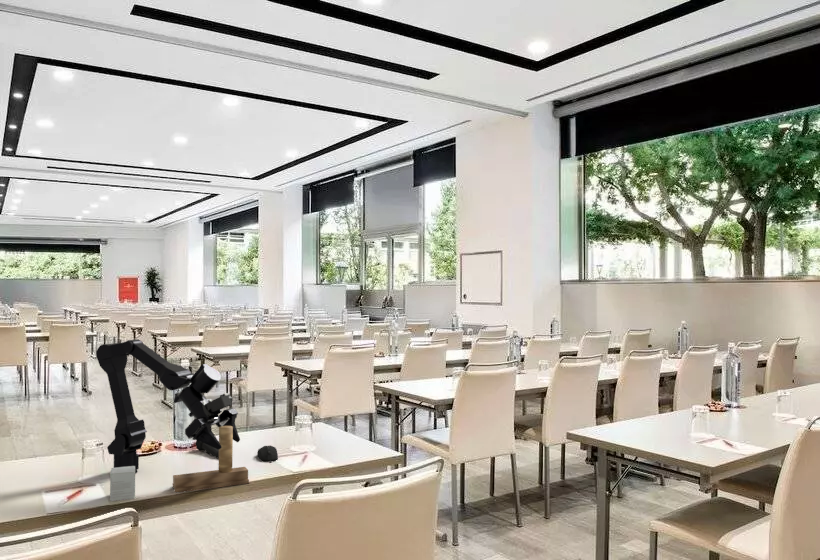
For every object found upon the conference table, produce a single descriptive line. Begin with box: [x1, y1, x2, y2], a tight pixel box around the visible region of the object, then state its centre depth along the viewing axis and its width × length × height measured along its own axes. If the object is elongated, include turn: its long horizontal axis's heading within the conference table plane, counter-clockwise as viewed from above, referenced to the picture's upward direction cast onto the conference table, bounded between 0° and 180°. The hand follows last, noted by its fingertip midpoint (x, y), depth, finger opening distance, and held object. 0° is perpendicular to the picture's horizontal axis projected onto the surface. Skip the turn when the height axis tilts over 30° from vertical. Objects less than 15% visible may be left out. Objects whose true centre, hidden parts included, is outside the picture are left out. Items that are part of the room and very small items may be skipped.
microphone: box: [195, 440, 219, 460], centre depth 221 cm, size 6×6×20 cm
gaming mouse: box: [256, 445, 279, 464], centre depth 216 cm, size 6×15×4 cm, turn 19°
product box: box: [109, 466, 136, 502], centre depth 177 cm, size 6×6×7 cm
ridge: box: [172, 466, 250, 493], centre depth 187 cm, size 20×6×4 cm, turn 117°
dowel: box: [218, 426, 234, 473], centre depth 189 cm, size 4×4×12 cm
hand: (229, 444), depth 189 cm, fingers open, 9 cm apart
